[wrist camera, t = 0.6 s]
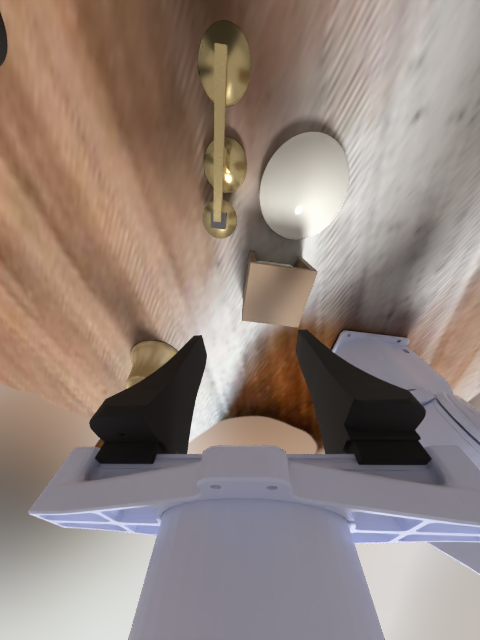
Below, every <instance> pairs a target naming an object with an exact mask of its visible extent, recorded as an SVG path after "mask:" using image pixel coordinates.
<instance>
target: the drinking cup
mask: <svg viewBox="0 0 480 640" xmlns="http://www.w3.org/2000/svg"><path fill="white" fill-rule="evenodd" d="M6 53H7V38H6V32H5V27H4V24H3V20H2V17H1V15H0V65H1V64H2V63H3V62H4V60H5V57H6Z"/></svg>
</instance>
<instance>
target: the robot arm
mask: <svg viewBox="0 0 480 640" xmlns="http://www.w3.org/2000/svg"><path fill="white" fill-rule="evenodd" d="M348 334H349V335H348ZM409 342H410V340H409V339H408V338H405V337H396V336H388V335H380V334H371V333H363V332H355V331H346V330H345V331H342V332H341V334H340V336H339V338H338V339H337V341H336V343H335V345H334V347H333V349H332V351H331V350H330V349H329V348H327V347H326V346H325V345H324V344H322V343H321V342H320V341H319V340H318V339H317V338H316V337H314V336H313V335H312V334H311V333H310V332H309V331H308V330H298V336H297V347H296V353H297V357H298V361H299V365H300V367H301V370H302V373H303V375H304V378H305V380H306V383H307V385H308V388H309V391H310V394H311V397H312V400H313V404H314V408H315V411H316V415H317V419H318V423H319V427H320V432H321V436H322V440H323V445H324V449H325V454H286V452H285V451H284V450H283V449H281V448H279V447H276V446H269V445H219V446H212V447H209V448H207V449H206V450H204V451H203V454H187V450H188V442H189V435H190V428H191V422H192V416H193V411H194V406H195V400H196V396H197V392H198V389H199V386H200V383H201V379H202V376H203V373H204V369H205V365H206V358H207V354H206V350H205V346H204V342H203V338H202V335H199V336H193V337H192V338H191V339H190V340H189V341H188V342H187V343H186V344H185V345H184V346H183V347H182V348H181V349H180V350H179V351H178V352H177V353H176V354H175V355H174V356H173V357H172V358H171V359H170V360H169V361H168V362H166V363H165V364H164V365H163V366H161V367H160V368H159V369H157V370H156V371H155V372H153V373H152V374H150V375H149V376H147V377H146V378H144V379H143V380H141V381H140V382H138V383H136V384H135V385H133V386H131V387H129V388H127V389H125V390H124V391H122V392H120V393H118V394H115V395H113V396H111V397H109V398H107V399H106V400H105V401H104V402H103V404H102V405H101V406H100V408H99V409H98V410H97V412H96V413H95V414H94V416H93V417H92V418H91V420H90V423H89V424H90V427H91V429H92V430H93V432H95V434H96V435H97V436H98V437H100V439H101V440H102V441H103V442H104V444H103V445H102V447H101V449H100V448H97V447H75V448H74V449H73V451H72V452H71V454H70V455H69V456H68V458H67V459H66V460H65V462H64V463H63V465H62V466H61V467H60V469H59V470H58V472H57V473H56V474H55V476H54V477H53V478H52V480H51V481H50V482H49V484H48V485H47V486H46V488H45V489H44V491H43V492H42V493H41V495H40V496H39V498H38V499H37V500H36V502H35V503H34V505H33V506H32V507H31V509H30V510H29V511H28V512H29V514H30V515H33V516H35V517H38V518H41V519H43V520H46V521H48V522H51V523H53V524H56V525H58V526H61V527H64V528H83V529H96V530H107V531H117V532H127V533H137V534H146V535H155V536H157V538H156V541H155V545H154V549H153V552H152V556H151V559H150V563H149V566H148V570H147V574H146V577H145V581H144V584H143V588H142V592H141V595H140V599H139V602H138V606H137V610H136V613H135V617H134V620H133V624H132V628H131V631H130V635H129V638H128V640H385V639H384V636H383V632H382V629H381V626H380V623H379V620H378V617H377V613H376V611H375V608H374V604H373V601H372V598H371V595H370V592H369V588H368V585H367V582H366V579H365V576H364V573H363V570H362V567H361V563H360V560H359V558H358V554H357V551H356V548H355V545H354V544H363V543H364V544H365V543H400V542H401V543H402V542H427V543H428V544H430V545H431V546H433V547H435V548H436V549H438V550H440V551H441V552H443V553H445V554H446V555H448V556H449V557H451V558H453V559H455V560H456V561H458V562H460V563H461V564H463V565H465V566H466V567H468V568H470V569H471V570H473V571H474V572H476V573H477V574H479V575H480V412H479V411H478V410H477V409H476V408H474V407H473V406H472V405H470V404H469V403H468V402H466V401H465V400H463V399H462V398H460V397H459V396H457V395H453V392H452V389H451V387H450V385H449V384H448V382H447V381H446V380H445V379H444V378H443V377H442V376H441V375H440V374H439V373H438V372H437V371H435V370H434V369H433V368H432V367H431V366H430V365H428V364H427V363H426V362H425V361H424V360H423V359H421V358H420V357H419V356H418V355H417V354H416V353H414V352H413V351H412V350H411V349H410V348H409V347H407V344H408V343H409Z"/></svg>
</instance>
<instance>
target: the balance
mask: <svg viewBox="0 0 480 640" xmlns="http://www.w3.org/2000/svg"><path fill="white" fill-rule="evenodd" d="M198 68H199V75H200V79H201V82H202V85H203V88H204V90H205V92H206V94H207V95H208V97H209V98H210V99H211V100H212V101H213V102H214V140H213V141H212V142H211V143H210V145H209V146H208V148H207V150H206V153H205V156H204V170H205V174H206V177H207V179H208V181H209V183H210V184H211V185H212V186H213V187H214V200H213V201H211V202H210V203H209V204H208V205H207V206H206V207H205V209H204V212H203V223H204V226H205V228H206V230H207V231H208V233H209V234H211V235H212V236H214V237H216V238H226V237H228V236H230V235H231V234H232V233H233V231H234V230H235V228H236V225H237V215H236V212H235V210H234V208H233V206H232V205H231V204H230V203H228V202H227V201H225V200H222V198H223V193H231V192H234V191H235V190H237V189H238V188H239V187H240V186H241V185H242V183H243V181H244V179H245V175H246V157H245V154H244V151H243V149H242V147H241V146H240V145H239V143H238V142H237V141H235V140H234V139H232V138H230V137H225V114H226V107H230V106H233V105H235V104H236V103H238V102H239V101H240V100H241V98H242V97H243V95H244V94H245V92H246V89H247V87H248V84H249V79H250V70H251V59H250V51H249V47H248V43H247V41H246V38H245V36H244V34H243V33H242V31H241V30H240V29H239V28H238V26H236V25H235V24H234V23H232V22H230V21H227V20H220V21H217V22H215V23H213V24H212V25H211V26H210V27H209V28H208V29H207V31H206V32H205V34H204V36H203V38H202V40H201V44H200V48H199V54H198Z"/></svg>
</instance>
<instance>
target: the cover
mask: <svg viewBox="0 0 480 640" xmlns="http://www.w3.org/2000/svg"><path fill="white" fill-rule="evenodd" d="M316 275H317V271H316V270H315V269H314V268H313V267H312V266H311V265H310V264H308V263H307V262H306V261H305V260H304V259H303V258H299V257H297V261H296V264H295V267H289V266H282V265H274V264H266V263H259V262H256V258H255V253H254V251H250V252H249V259H248V266H247V274H246V281H245V288H244V295H243V308H242V321H250V322H258V323H267V324H275V325H284V326H292V327H298V326H299V323H300V320H301V317H302V314H303V312H304V309H305V306H306V303H307V300H308V297H309V295H310V292H311V289H312V286H313V283H314V281H315V278H316Z"/></svg>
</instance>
